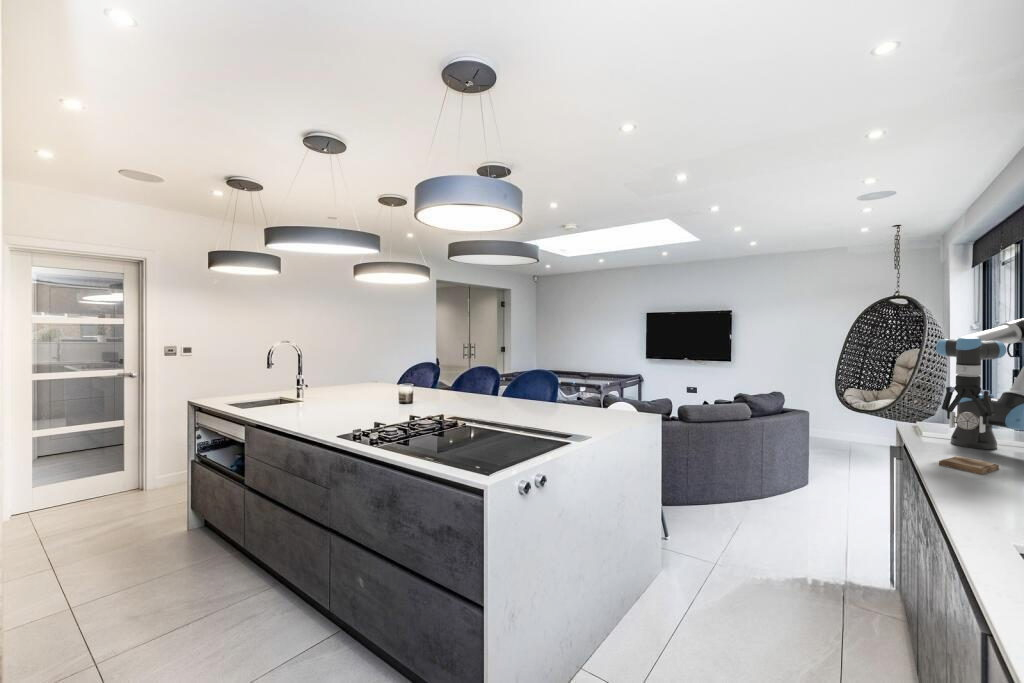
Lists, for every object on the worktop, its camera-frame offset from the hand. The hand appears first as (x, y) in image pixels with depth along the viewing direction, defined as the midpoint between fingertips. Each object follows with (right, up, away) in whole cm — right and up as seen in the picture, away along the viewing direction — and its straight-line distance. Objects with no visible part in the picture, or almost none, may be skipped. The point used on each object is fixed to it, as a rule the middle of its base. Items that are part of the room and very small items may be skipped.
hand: (967, 429), depth 203 cm
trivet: (-10, -12, -12) cm, 20 cm away
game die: (0, -1, 0) cm, 1 cm away
